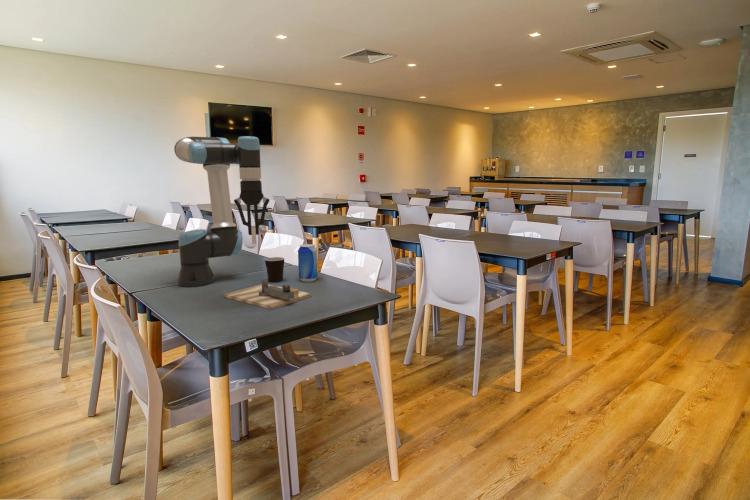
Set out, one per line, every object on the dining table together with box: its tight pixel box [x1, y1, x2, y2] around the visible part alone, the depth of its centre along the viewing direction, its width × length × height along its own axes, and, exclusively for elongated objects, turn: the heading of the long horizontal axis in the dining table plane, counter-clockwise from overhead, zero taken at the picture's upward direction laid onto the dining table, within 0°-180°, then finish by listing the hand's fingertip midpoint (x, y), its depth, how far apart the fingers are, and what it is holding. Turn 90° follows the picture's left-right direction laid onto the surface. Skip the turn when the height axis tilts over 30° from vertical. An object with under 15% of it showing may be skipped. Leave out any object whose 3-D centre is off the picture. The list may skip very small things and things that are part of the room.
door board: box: [223, 278, 312, 310], centre depth 170 cm, size 28×20×7 cm
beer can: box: [297, 243, 319, 283], centre depth 196 cm, size 8×8×16 cm
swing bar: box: [264, 284, 294, 299], centre depth 164 cm, size 14×3×4 cm, turn 51°
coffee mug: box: [264, 256, 285, 283], centre depth 197 cm, size 12×9×10 cm
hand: (254, 243), depth 163 cm, fingers closed
